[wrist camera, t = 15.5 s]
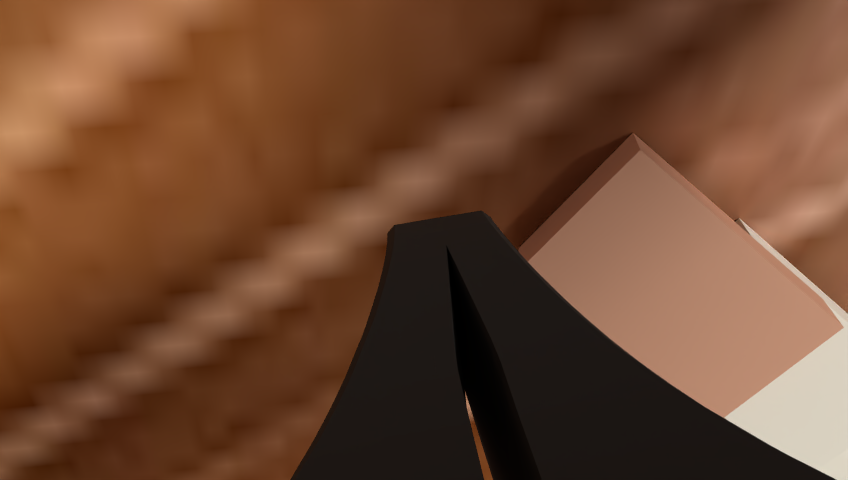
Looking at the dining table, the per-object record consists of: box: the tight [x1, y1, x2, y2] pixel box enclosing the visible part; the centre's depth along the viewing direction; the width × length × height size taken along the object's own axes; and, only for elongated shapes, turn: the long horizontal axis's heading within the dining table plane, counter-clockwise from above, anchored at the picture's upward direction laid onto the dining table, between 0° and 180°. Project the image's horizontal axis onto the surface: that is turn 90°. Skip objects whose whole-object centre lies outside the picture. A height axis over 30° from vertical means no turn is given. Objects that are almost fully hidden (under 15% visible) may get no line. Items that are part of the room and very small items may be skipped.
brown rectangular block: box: [519, 133, 844, 418], centre depth 22 cm, size 2×5×8 cm
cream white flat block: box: [724, 218, 848, 469], centre depth 25 cm, size 2×5×8 cm
